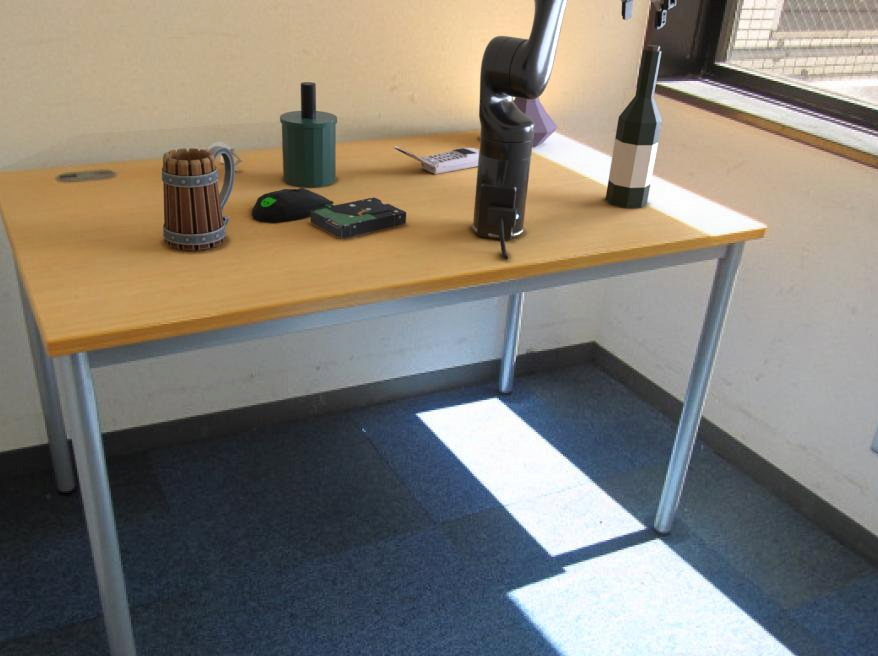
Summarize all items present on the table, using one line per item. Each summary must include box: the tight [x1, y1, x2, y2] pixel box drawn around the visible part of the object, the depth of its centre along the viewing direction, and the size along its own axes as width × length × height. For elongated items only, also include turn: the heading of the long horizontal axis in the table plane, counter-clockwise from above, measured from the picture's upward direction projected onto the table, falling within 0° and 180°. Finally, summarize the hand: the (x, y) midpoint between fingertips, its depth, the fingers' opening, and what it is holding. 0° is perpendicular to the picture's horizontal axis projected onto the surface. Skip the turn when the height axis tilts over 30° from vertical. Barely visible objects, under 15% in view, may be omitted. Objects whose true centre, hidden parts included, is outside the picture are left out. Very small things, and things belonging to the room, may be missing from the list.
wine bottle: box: [604, 44, 663, 209], centre depth 173 cm, size 8×8×30 cm
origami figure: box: [205, 141, 244, 173], centre depth 189 cm, size 12×8×5 cm
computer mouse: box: [251, 187, 334, 224], centre depth 168 cm, size 11×16×4 cm
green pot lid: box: [279, 81, 338, 128], centre depth 178 cm, size 12×12×8 cm
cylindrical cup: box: [281, 123, 337, 188], centre depth 183 cm, size 11×11×12 cm
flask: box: [513, 96, 559, 148], centre depth 214 cm, size 16×16×20 cm
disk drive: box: [309, 197, 407, 239], centre depth 163 cm, size 10×3×15 cm
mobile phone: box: [393, 145, 479, 175], centre depth 195 cm, size 6×6×25 cm
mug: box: [161, 146, 236, 252], centre depth 151 cm, size 16×11×15 cm
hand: (642, 23), depth 186 cm, fingers open, 8 cm apart
